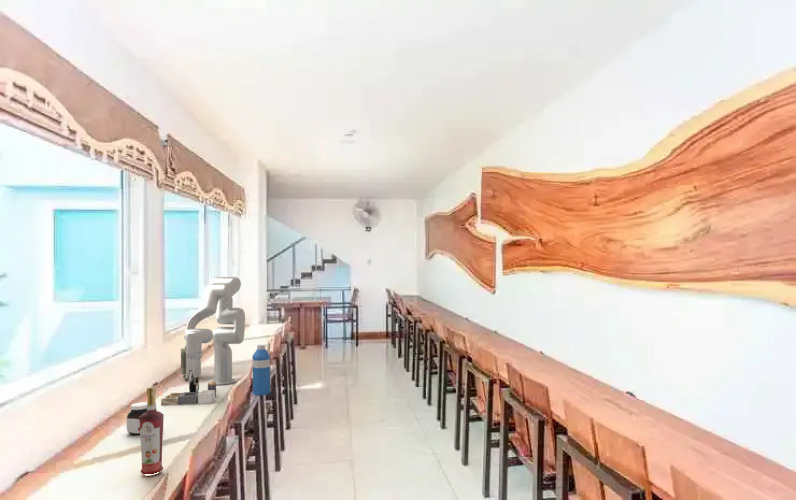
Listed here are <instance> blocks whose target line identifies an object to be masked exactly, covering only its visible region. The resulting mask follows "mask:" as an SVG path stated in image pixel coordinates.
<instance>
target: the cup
mask: <svg viewBox="0 0 796 500" xmlns="http://www.w3.org/2000/svg"><path fill="white" fill-rule="evenodd" d="M198 392H199V393H198V403H197V405H202V404H203V405H211V404H213V403H214V402H215V401H216V397H215V390H208V389H207V390H200V391H198Z"/></svg>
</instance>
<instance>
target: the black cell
mask: <svg viewBox="0 0 796 500" xmlns="http://www.w3.org/2000/svg"><path fill="white" fill-rule="evenodd" d="M207 390H215V398H216V397H217V385H216V382H212V381H211V382H207Z"/></svg>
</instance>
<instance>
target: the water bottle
mask: <svg viewBox="0 0 796 500" xmlns="http://www.w3.org/2000/svg"><path fill="white" fill-rule="evenodd" d="M253 394H255V395H254V396H267V395H270V394H271V356H270V353H269V352H268V351H267V350H266V345H265V344H257V345H256V349H255V351H254V352H253V354H252V395H253Z"/></svg>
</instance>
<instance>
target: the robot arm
mask: <svg viewBox="0 0 796 500" xmlns="http://www.w3.org/2000/svg"><path fill="white" fill-rule="evenodd" d="M241 287H242V282H241V279H240V278H239V277H236V276H215V277H212V278H211V279H210V281H209V284H206V286H205V288H204V291H203V295H202V299H201V302H200V306H199V309H198V310H197V311H196V312H195V313H193V315H192V316H191V317H190V318H189V320H188V321H187V323H186V326H185V330H184V340H185V346H186V359H187V363H186V377H185V378H186V379H187V381H188V384H189V386H188V387H189V388H188V391H189V392H196V384H195V382H197V383H198V391H200V376H201V375H202V363H201V362H202V361H201V358H202V356H203V355H202V354H203V350H202V348H203V346H202V345H203V344H208V343H210V342H212V341H213V342H212V343H213V349H214V353H213V354H214V380H211V382H216V386H225V385H227V386H228V385H232V384H234V383H236V380H235V379H234V378H233V351H232V350H233V349H232V348H231V346H230V345H240V344H241V343H243V342H244V339H245V330H246V329H245V328H246V313H245V311H244V309H243V308H241V307H233V302H234V299H233V296H235V295H236V294H237V293H238V292H239V291H240V289H241ZM214 315H216V323H218V324H219V325H232V326H219V327H215V329H213V330H211V329H209V328H196V327H197V325H199V323H200V322H202V321H203V320H206V319H208V318H209V317H212V316H214ZM192 377H193V378H192Z"/></svg>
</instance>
